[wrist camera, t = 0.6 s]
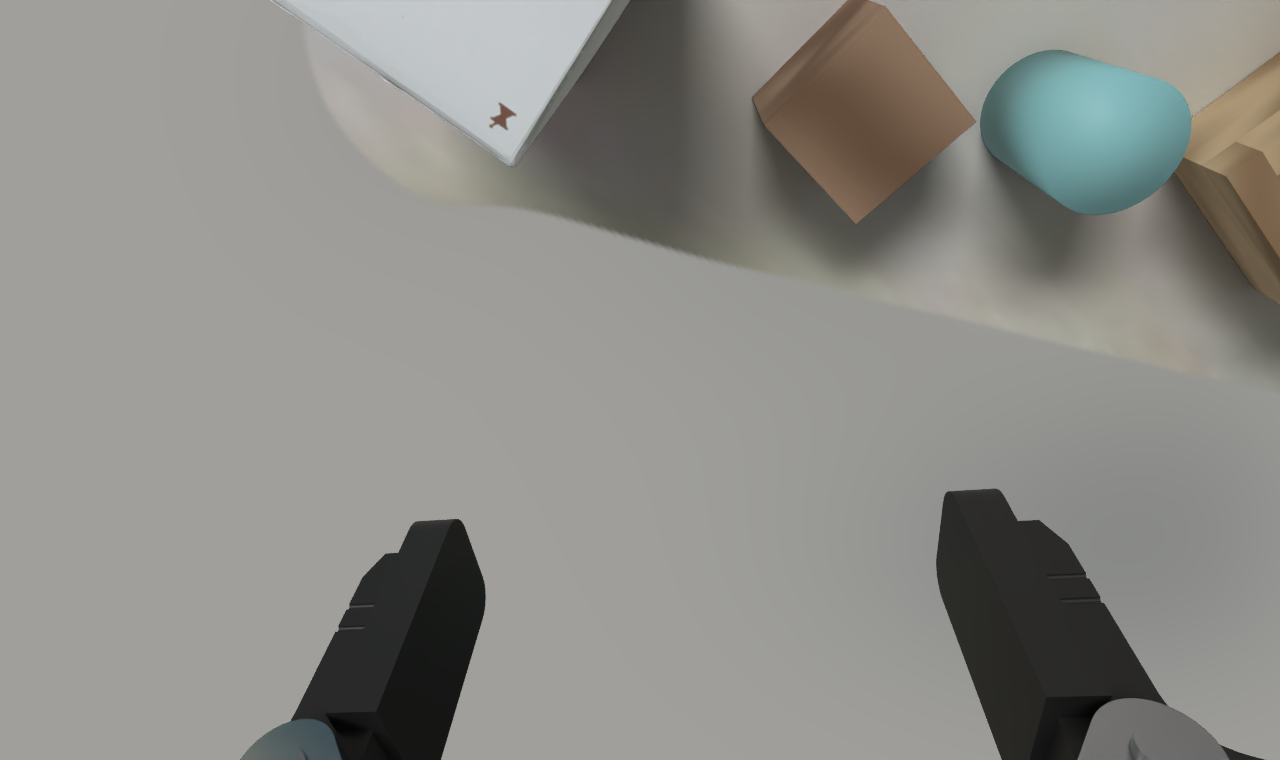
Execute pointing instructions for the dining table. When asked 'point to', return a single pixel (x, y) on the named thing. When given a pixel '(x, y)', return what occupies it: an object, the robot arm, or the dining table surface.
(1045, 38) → the dining table surface
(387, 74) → the supplement box
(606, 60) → the dining table surface
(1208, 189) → the oak base
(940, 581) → the robot arm
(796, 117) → the walnut block
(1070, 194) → the teal cylinder
